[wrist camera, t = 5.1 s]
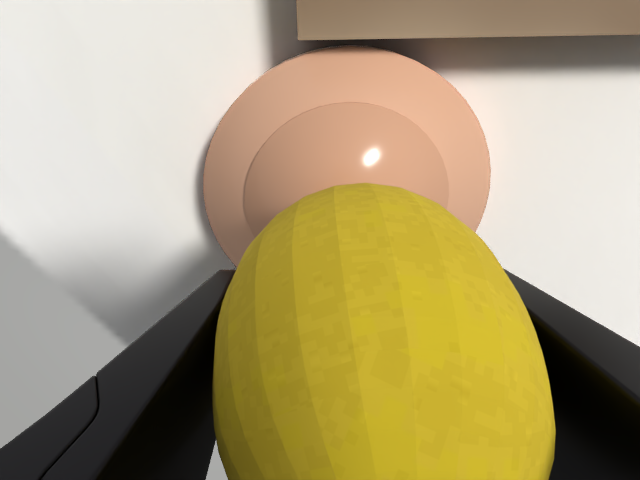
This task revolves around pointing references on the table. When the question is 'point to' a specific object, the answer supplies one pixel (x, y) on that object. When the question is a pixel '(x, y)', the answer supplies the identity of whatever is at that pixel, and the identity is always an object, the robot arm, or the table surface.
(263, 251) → the lemon
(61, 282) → the table surface
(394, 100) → the saucer
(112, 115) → the table surface
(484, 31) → the wooden picture frame
